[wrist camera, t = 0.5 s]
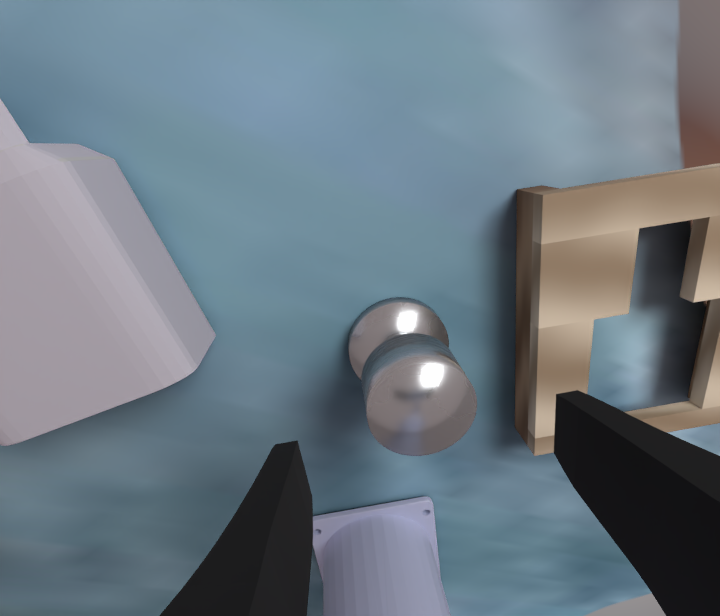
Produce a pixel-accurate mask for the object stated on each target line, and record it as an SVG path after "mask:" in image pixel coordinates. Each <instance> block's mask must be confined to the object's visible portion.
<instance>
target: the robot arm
mask: <svg viewBox="0 0 720 616" xmlns="http://www.w3.org/2000/svg"><path fill="white" fill-rule="evenodd" d="M554 454H555V456H556V457H557V459H558V461H559V463H560V465H561V466H562V468H563V470H564V472H565V473H566V475H567V477H568V478H569V480H570V482H571V483H572V485H573V487H574V488H575V489H576V491H577V492H578V494H579V495H580V496H581V498H582V499H583V500H584V502H585V503H586V504H587V506H588V507H589V508H590V510H591V511H592V512H593V514H594V515H595V516H596V518H597V519H598V520H599V522H600V523H601V524H602V526H603V527H604V528H605V530H606V531H607V532H608V533H609V535H610V536H611V537H612V539H613V540H614V541H615V543H616V544H617V545H618V547H619V548H620V549H621V551H622V552H623V553H624V555H625V556H626V557H627V558H628V560H629V561H630V562H631V564H632V565H633V566H634V568H635V569H636V571H637V572H638V573H639V575H640V576H641V578H642V579H643V580H644V582H645V583H646V585H647V586H648V588H649V589H650V591H651V592H652V594H653V595H654V597H655V599H656V600H657V602H658V603H659V605H660V606H661V608H662V610H663V611H664V613H665V614H666V616H720V456H718V455H716V454H714V453H711V452H709V451H707V450H704V449H702V448H700V447H697V446H695V445H693V444H690V443H688V442H686V441H684V440H681V439H679V438H677V437H675V436H673V435H670V434H668V433H666V432H664V431H662V430H660V429H658V428H656V427H654V426H651V425H649V424H647V423H645V422H643V421H641V420H639V419H637V418H635V417H633V416H631V415H629V414H627V413H625V412H623V411H621V410H619V409H617V408H615V407H613V406H611V405H609V404H606V403H604V402H602V401H600V400H598V399H596V398H594V397H592V396H590V395H588V394H585V393H583V392H581V391H578V390H576V391H570V392H565V393H559V394H556V408H555V433H554ZM316 529H318V530H316ZM312 544H313V548H314V551H315V555H316V559H317V562H318V566H319V570H320V573H321V577H322V581H323V616H451V615H450V611H449V607H448V604H447V600H446V596H445V593H444V589H443V585H442V582H441V578H440V568H439V557H438V547H437V537H436V527H435V517H434V507H433V502H432V499H431V498H430V497H418V498H413V499H407V500H402V501H396V502H390V503H385V504H379V505H374V506H368V507H362V508H357V509H351V510H346V511H340V512H334V513H329V514H323V515H318V516H313V509H312V494H311V491H310V487H309V483H308V479H307V475H306V471H305V468H304V464H303V460H302V456H301V452H300V449H299V445H298V441H292V442H287V443H281V444H276V445H275V446H274V447H273V448H272V450H271V452H270V454H269V455H268V457H267V459H266V461H265V463H264V465H263V467H262V469H261V470H260V472H259V474H258V476H257V478H256V479H255V481H254V483H253V485H252V487H251V488H250V490H249V492H248V493H247V495H246V497H245V498H244V500H243V502H242V503H241V505H240V507H239V508H238V510H237V512H236V513H235V515H234V516H233V518H232V520H231V521H230V523H229V524H228V526H227V527H226V529H225V530H224V532H223V533H222V535H221V536H220V538H219V539H218V541H217V542H216V544H215V545H214V547H213V548H212V549H211V551H210V552H209V554H208V555H207V556H206V558H205V559H204V561H203V562H202V563H201V565H200V566H199V567H198V569H197V570H196V571H195V573H194V574H193V575H192V576H191V578H190V579H189V580H188V582H187V583H186V584H185V586H184V587H183V588H182V589H181V591H180V592H179V593H178V594H177V595H176V597H175V598H174V599H173V600H172V601H171V603H170V604H169V605H168V606H167V607H166V609H165V610H164V611H163V612H162V613H161V615H160V616H307V605H308V593H309V581H310V569H311V556H312Z"/></svg>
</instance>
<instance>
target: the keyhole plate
mask: <svg viewBox="0 0 720 616" xmlns="http://www.w3.org/2000/svg"><path fill="white" fill-rule="evenodd" d="M688 220H693V224H692V230H691V235H690V241H689V246H688V252H687V258H686V263H685V269H684V275H683V280H682V286H681V291H680V297H681V298H684V299H686V300H688V301H691V302H693V303H694V302H700V301H706V300H708V301H707V306H706V310H705V315H704V320H703V325H702V330H701V335H700V339H699V344H698V349H697V354H696V359H695V363H694V368H693V373H692V378H691V383H690V387H689V392H688V398H689V399H690V400H689V401H684V402H678V403H672V404H667V405H661V406H655V407H650V408H644V409H638V410H632V411H627V412H625V413H627V414H629V415H631V416H633V417H635V418H637V419H639V420H641V421H643V422H645V423H647V424H649V425H651V426H654V427H656V428H658V429H660V430H662V431H664V432H672V431H677V430H683V429H689V428H694V427H700V426H705V425H711V424H717V423H720V163H719V164H712V165H706V166H700V167H693V168H687V169H681V170H674V171H668V172H662V173H656V174H649V175H643V176H637V177H631V178H625V179H618V180H612V181H606V182H600V183H593V184H587V185H581V186H575V187H568V188H562V189H559V188H553V187H547V186H536V187H530V188H523V189H517V239H516V361H515V428H516V430H517V431H518V433H519V434H520V435H521V437H522V438H523V440H524V441H525V443H526V444H527V446H528V447H529V449H530V450H531V452H532V453H533V454H534V456H536V455H542V454H547V453H553V452H554V433H555V408H556V394H559V393H565V392H570V391H576V390H578V391H581V392H583V393H585V394H587V390H588V379H589V368H590V357H591V346H592V335H593V324H594V319H599V318H605V317H611V316H617V315H623V314H629V306H630V298H631V291H632V283H633V275H634V267H635V259H636V251H637V243H638V235H639V228H645V227H651V226H657V225H663V224H670V223H676V222H682V221H688Z"/></svg>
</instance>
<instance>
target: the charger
mask: <svg viewBox="0 0 720 616" xmlns="http://www.w3.org/2000/svg"><path fill="white" fill-rule="evenodd" d="M215 336H216V334H215V332H214V331H213V329H212V327H211V325H210V324H209V322H208V320H207V319H206V317H205V315H204V313H203V312H202V310H201V308H200V306H199V305H198V303H197V301H196V299H195V298H194V296H193V294H192V293H191V291H190V289H189V287H188V286H187V284H186V282H185V280H184V279H183V277H182V275H181V273H180V272H179V270H178V268H177V267H176V265H175V263H174V261H173V260H172V258H171V256H170V254H169V253H168V251H167V249H166V248H165V246H164V244H163V242H162V241H161V239H160V237H159V235H158V234H157V232H156V230H155V228H154V227H153V225H152V223H151V222H150V220H149V218H148V216H147V215H146V213H145V211H144V209H143V208H142V206H141V204H140V202H139V201H138V199H137V197H136V196H135V194H134V192H133V190H132V189H131V187H130V185H129V183H128V182H127V180H126V178H125V176H124V175H123V173H122V171H121V170H120V168H119V166H118V164H117V163H116V161H115V159H113V158H110V157H108V156H106V155H103V154H101V153H98V152H96V151H93V150H91V149H89V148H86V147H84V146H81V145H79V144H45V143H29V142H28V140H27V139H26V137H25V136H24V134H23V133H22V131H21V130H20V128H19V127H18V125H17V123H16V122H15V120H14V119H13V117H12V116H11V114H10V113H9V111H8V110H7V108H6V107H5V105H4V103H3V102H2V100H1V99H0V444H1V445H2V446H7V445H12V444H16V443H19V442H22V441H25V440H28V439H30V438H33V437H36V436H38V435H41V434H44V433H46V432H49V431H52V430H54V429H57V428H60V427H62V426H65V425H68V424H71V423H73V422H76V421H79V420H81V419H84V418H87V417H89V416H92V415H95V414H97V413H100V412H103V411H105V410H108V409H111V408H113V407H116V406H119V405H121V404H124V403H127V402H129V401H132V400H135V399H138V398H140V397H143V396H146V395H148V394H151V393H153V392H156V391H158V390H161V389H163V388H166V387H168V386H170V385H172V384H174V383H176V382H178V381H180V380H181V379H183V378H185V377H187V376H188V375H190V374H191V373H192V372H194V371H195V370H196V369H197V368H198V366H199V364H200V363H201V361H202V359H203V357H204V356H205V354H206V352H207V350H208V349H209V347H210V345H211V343H212V342H213V340H214V338H215Z"/></svg>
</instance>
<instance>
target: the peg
mask: <svg viewBox="0 0 720 616" xmlns="http://www.w3.org/2000/svg"><path fill="white" fill-rule="evenodd" d="M348 350H349V358H350V362H351V365H352V368H353V370H354V371H355V373H356V375H357V376H358V377H359V378H360V379H361V382H362V390H363V396H364V402H365V408H366V414H367V420H368V425H369V428H370V430H371V433H372V434H373V436H374V437H375V439H376V440H377V441H378V442H379V443H380V444H381V445H383V446H384V447H386V448H387V449H389V450H391V451H393V452H396V453H399V454H403V455H410V456H422V455H428V454H433V453H436V452H439V451H441V450H444V449H446V448H448V447H449V446H451V445H453V444H454V443H455V442H457V441H458V440H459V439H460V438H461V437H462V436H463V435H464V434H465V433H466V432H467V431H468V429H469V428H470V426H471V424H472V422H473V420H474V418H475V415H476V410H477V398H476V393H475V390H474V388H473V386H472V384H471V383H470V381H469V379H468V378H467V376H466V375H465V373H464V371H463V370H462V368H461V367H460V365H459V363H458V362H457V360H456V359H455V357H454V355H453V354H452V352H451V351H450V349H449V340H448V335H447V331H446V329H445V327H444V325H443V323H442V322H441V320H440V319H439V317H438V316H437V314H436V313H435V312H434V311H433V310H432V309H431V308H430V307H429V306H427V305H426V304H424V303H422V302H420V301H418V300H415V299H411V298H404V297H396V298H389V299H385V300H382V301H379V302H377V303H375V304H373V305H371V306H370V307H368V308H367V309H366V310H365V311H363V312H362V313H361V314H360V316H359V317H358V318H357V319H356V321H355V322H354V324H353V326H352V328H351V331H350V334H349V339H348Z"/></svg>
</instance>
